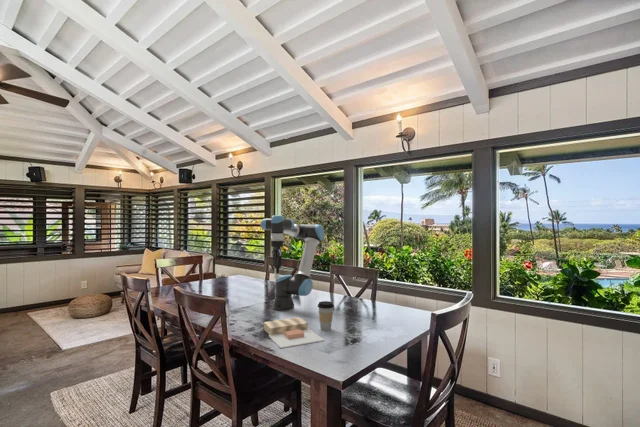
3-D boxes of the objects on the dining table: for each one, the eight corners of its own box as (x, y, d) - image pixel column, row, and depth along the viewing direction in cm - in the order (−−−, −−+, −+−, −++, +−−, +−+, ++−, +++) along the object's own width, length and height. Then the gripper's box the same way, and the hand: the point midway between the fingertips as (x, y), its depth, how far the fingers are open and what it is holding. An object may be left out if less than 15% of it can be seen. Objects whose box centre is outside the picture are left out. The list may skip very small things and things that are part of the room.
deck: (299, 324, 195) (299, 317, 195) (307, 330, 184) (307, 322, 184) (263, 329, 185) (263, 322, 185) (270, 335, 174) (270, 328, 174)
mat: (309, 329, 184) (309, 328, 184) (324, 340, 168) (324, 339, 168) (268, 336, 174) (268, 335, 174) (280, 348, 157) (280, 347, 157)
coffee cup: (336, 328, 188) (336, 302, 188) (328, 333, 179) (328, 305, 180) (322, 325, 192) (322, 300, 193) (314, 330, 184) (314, 303, 185)
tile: (304, 332, 172) (304, 336, 172) (299, 329, 177) (299, 333, 177) (288, 335, 168) (288, 339, 168) (284, 331, 174) (284, 335, 173)
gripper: (268, 239, 204) (267, 277, 204) (274, 241, 193) (274, 280, 192) (279, 239, 208) (279, 276, 207) (286, 240, 196) (286, 279, 195)
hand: (276, 278), depth 199 cm, fingers closed
